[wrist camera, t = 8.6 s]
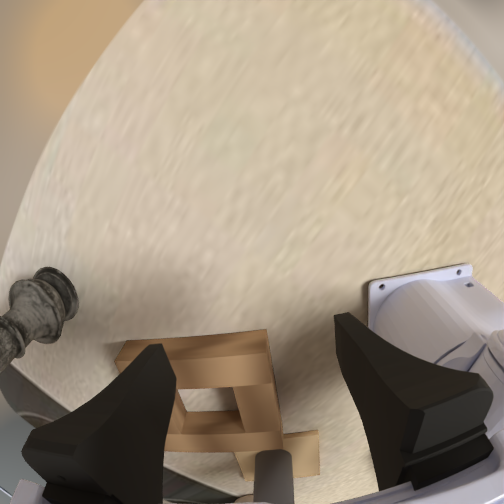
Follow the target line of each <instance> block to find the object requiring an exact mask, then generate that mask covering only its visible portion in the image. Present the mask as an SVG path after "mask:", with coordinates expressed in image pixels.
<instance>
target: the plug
mask: <svg viewBox="0 0 504 504" xmlns="http://www.w3.org/2000/svg"><path fill="white" fill-rule="evenodd" d="M253 502H266V503H271V504H294V487H293V467H292V455H291V454H290V453H289V452H288V451H286V450H283V449H276V450H263V451H260V452H259V453H257V454H256V456H255V473H254V495H253Z"/></svg>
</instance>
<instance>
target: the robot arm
mask: <svg viewBox="0 0 504 504" xmlns="http://www.w3.org/2000/svg"><path fill="white" fill-rule="evenodd" d="M458 270H459V272H458V273H457V271H458ZM456 273H457V274H456ZM381 284H384V285H383V287H382V288H379V286H380V285H381ZM334 321H335V338H336V354H337V358H338V361H339V365H340V368H341V372H342V375H343V377H344V379H345V382H346V384H347V386H348V389H349V391H350V393H351V395H352V398H353V400H354V402H355V405H356V407H357V409H358V412H359V414H360V417H361V420H362V422H363V426H364V429H365V433H366V436H367V440H368V444H369V448H370V452H371V456H372V460H373V464H374V468H375V473H376V477H377V482H378V488H379V492H376V493H372V494H369V495H365V496H361V497H357V498H353V499H349V500H345V501H341V502H336V503H332V504H504V303H503V302H502V301H501V300H500V299H499V298H498V297H496V296H495V295H494V294H493V293H492V292H491V291H489V290H488V289H487V288H486V287H485V286H483V285H482V284H481V283H480V282H478V281H477V280H476V279H475V278H473V277H472V265H470V264H469V263H465V264H460V265H455V266H450V267H445V268H440V269H435V270H430V271H424V272H419V273H413V274H408V275H402V276H396V277H391V278H385V279H379V280H374V281H372V282H370V284H369V286H368V327H366V326H365V325H364V324H363V323H361V322H360V321H359V320H358V319H357V318H355V317H354V316H353V315H352V314H350V313H349V312H347V313H343V314H338V315H334ZM176 381H177V378H176V375H175V373H174V371H173V369H172V366H171V364H170V362H169V359H168V357H167V354H166V352H165V350H164V347H163V345H162V343H158V344H149V345H148V346H147V347H146V348H145V349H144V350H143V351H142V352H141V353H140V354H139V355H138V356H137V357H136V358H135V359H134V360H133V361H132V362H131V363H130V364H129V365H128V366H127V367H126V368H125V369H124V371H123V372H122V373H121V374H120V375H118V376H117V377H116V378H115V379H114V380H113V381H112V382H111V383H110V384H109V385H108V386H107V387H106V388H105V389H103V390H102V391H101V392H100V393H99V394H97V395H96V396H95V397H93V398H92V399H91V400H90V401H88V402H87V403H85V404H84V405H82V406H81V407H79V408H77V409H76V410H74V411H73V412H71V413H69V414H67V415H66V416H64V417H62V418H60V419H58V420H56V421H54V422H51V423H49V424H46V425H44V426H41V427H39V428H36V429H33V430H32V431H31V433H30V435H29V437H28V439H27V441H26V443H25V445H24V447H23V449H22V451H21V452H22V456H23V457H24V459H25V461H26V462H27V463H28V464H29V465H30V466H31V467H32V468H33V469H34V470H35V471H36V472H37V473H38V474H39V475H40V476H41V477H42V478H43V479H44V480H45V481H46V482H47V484H46V486H45V488H44V487H43V486H41V485H39V484H37V483H33V482H30V481H27V480H24V479H20V481H19V483H18V485H17V487H16V490H15V492H14V495H13V497H12V499H11V501H10V504H163V497H162V479H163V460H164V448H165V442H166V436H167V432H168V427H169V423H170V419H171V414H172V410H173V406H174V401H175V394H176ZM169 504H175V503H169ZM227 504H271V503H266V502H245V503H227Z"/></svg>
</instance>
